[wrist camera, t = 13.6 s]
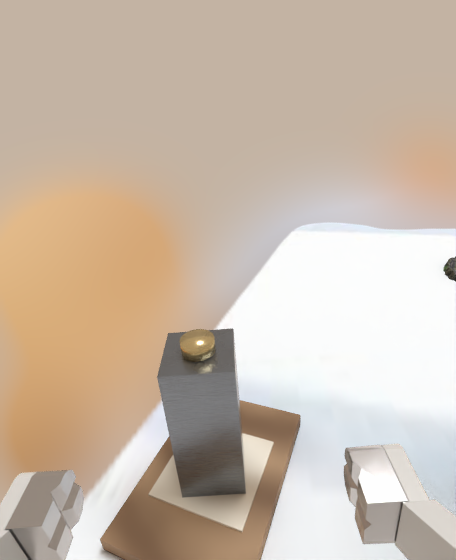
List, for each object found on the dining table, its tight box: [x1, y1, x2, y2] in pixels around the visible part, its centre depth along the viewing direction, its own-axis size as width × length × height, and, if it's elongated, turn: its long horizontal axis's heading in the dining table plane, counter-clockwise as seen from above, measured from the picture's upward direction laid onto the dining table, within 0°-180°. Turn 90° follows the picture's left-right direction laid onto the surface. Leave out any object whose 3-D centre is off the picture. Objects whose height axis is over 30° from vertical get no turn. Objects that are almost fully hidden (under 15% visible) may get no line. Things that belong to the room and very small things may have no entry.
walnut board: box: [100, 400, 300, 560], centre depth 31 cm, size 16×11×1 cm
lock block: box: [157, 329, 246, 498], centre depth 27 cm, size 5×5×13 cm
